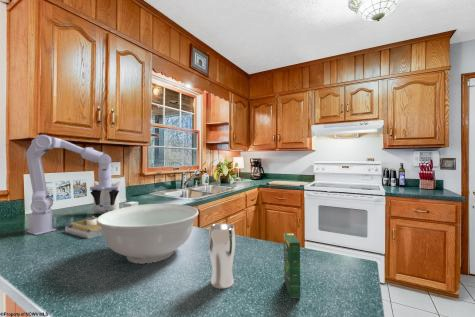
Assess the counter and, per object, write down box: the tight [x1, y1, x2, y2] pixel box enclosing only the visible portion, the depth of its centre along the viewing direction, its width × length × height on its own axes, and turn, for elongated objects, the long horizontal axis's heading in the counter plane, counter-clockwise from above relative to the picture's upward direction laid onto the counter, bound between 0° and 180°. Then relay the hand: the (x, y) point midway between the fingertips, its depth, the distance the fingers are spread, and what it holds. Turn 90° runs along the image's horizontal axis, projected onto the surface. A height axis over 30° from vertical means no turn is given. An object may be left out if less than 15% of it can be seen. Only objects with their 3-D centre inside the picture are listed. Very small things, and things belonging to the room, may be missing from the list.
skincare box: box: [122, 201, 139, 208], centre depth 116 cm, size 6×4×12 cm
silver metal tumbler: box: [208, 222, 236, 290], centre depth 63 cm, size 7×7×15 cm
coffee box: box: [283, 232, 301, 299], centre depth 60 cm, size 8×3×13 cm, turn 178°
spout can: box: [86, 215, 97, 226], centre depth 110 cm, size 4×4×7 cm
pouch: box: [92, 180, 121, 214], centre depth 142 cm, size 8×19×20 cm, turn 69°
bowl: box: [97, 203, 199, 265], centre depth 83 cm, size 32×32×15 cm
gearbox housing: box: [64, 216, 103, 239], centre depth 110 cm, size 18×15×4 cm
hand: (105, 204), depth 121 cm, fingers open, 7 cm apart
